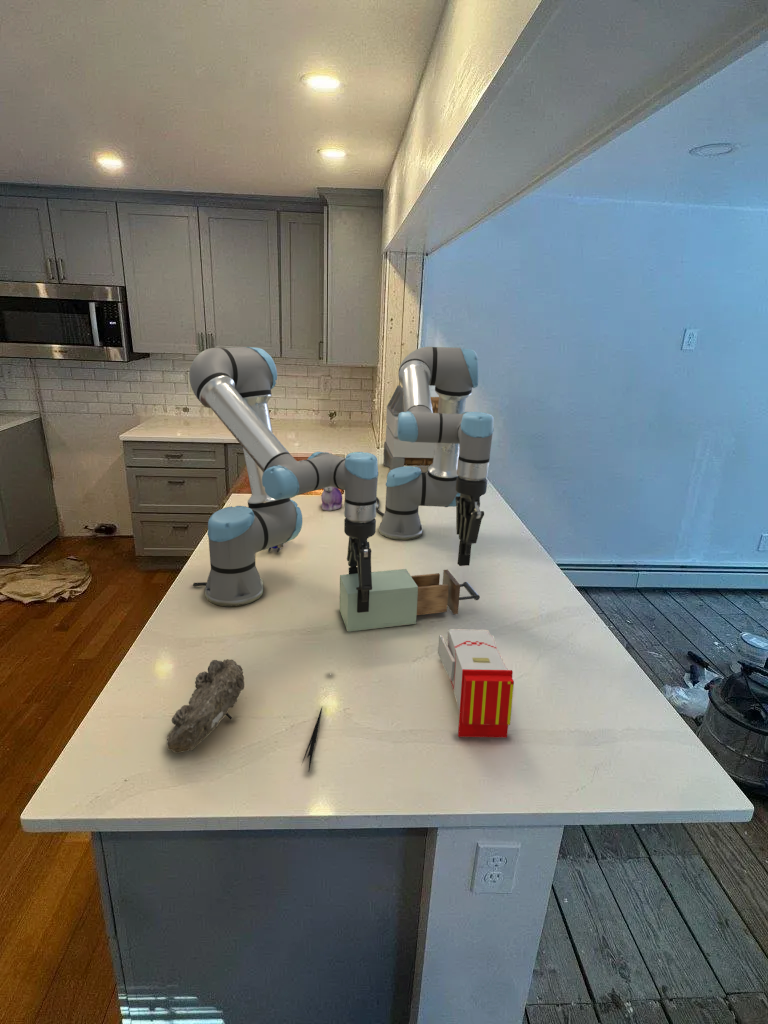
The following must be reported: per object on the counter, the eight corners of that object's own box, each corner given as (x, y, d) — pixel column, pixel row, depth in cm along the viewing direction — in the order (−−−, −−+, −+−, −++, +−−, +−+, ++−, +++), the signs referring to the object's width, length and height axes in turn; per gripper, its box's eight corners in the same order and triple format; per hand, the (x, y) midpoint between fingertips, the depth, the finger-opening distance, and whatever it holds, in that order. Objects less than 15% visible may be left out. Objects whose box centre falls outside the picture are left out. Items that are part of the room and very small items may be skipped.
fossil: (192, 660, 117) (244, 628, 112) (224, 691, 120) (276, 661, 115) (142, 746, 98) (202, 712, 93) (182, 779, 101) (242, 748, 96)
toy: (488, 613, 130) (523, 677, 101) (484, 667, 133) (517, 744, 104) (435, 612, 130) (455, 676, 101) (432, 666, 133) (451, 743, 103)
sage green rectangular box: (404, 603, 152) (406, 568, 148) (416, 623, 143) (418, 586, 139) (339, 610, 148) (339, 574, 144) (347, 631, 138) (347, 593, 135)
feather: (331, 679, 122) (336, 673, 122) (307, 777, 96) (313, 769, 95) (324, 675, 122) (329, 669, 121) (298, 772, 95) (304, 764, 95)
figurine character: (283, 559, 179) (290, 536, 192) (282, 538, 176) (289, 516, 189) (262, 558, 179) (270, 535, 192) (261, 537, 175) (269, 515, 189)
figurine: (325, 512, 217) (325, 474, 211) (315, 504, 225) (315, 467, 220) (347, 509, 221) (348, 472, 216) (337, 501, 229) (337, 465, 224)
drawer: (466, 594, 155) (468, 567, 153) (479, 611, 147) (482, 582, 144) (387, 603, 150) (388, 575, 147) (397, 621, 142) (398, 591, 139)
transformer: (382, 463, 289) (386, 382, 275) (445, 464, 293) (451, 384, 279) (390, 482, 257) (394, 392, 243) (460, 483, 261) (468, 394, 247)
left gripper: (387, 535, 125) (384, 622, 133) (365, 501, 146) (362, 579, 153) (354, 537, 123) (352, 625, 131) (336, 503, 144) (335, 581, 152)
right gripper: (497, 484, 133) (487, 574, 141) (475, 469, 145) (467, 553, 153) (468, 485, 131) (459, 576, 139) (448, 470, 143) (441, 555, 151)
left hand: (358, 600), depth 142 cm, fingers closed on sage green rectangular box, 10 cm apart
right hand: (463, 564), depth 146 cm, fingers closed
